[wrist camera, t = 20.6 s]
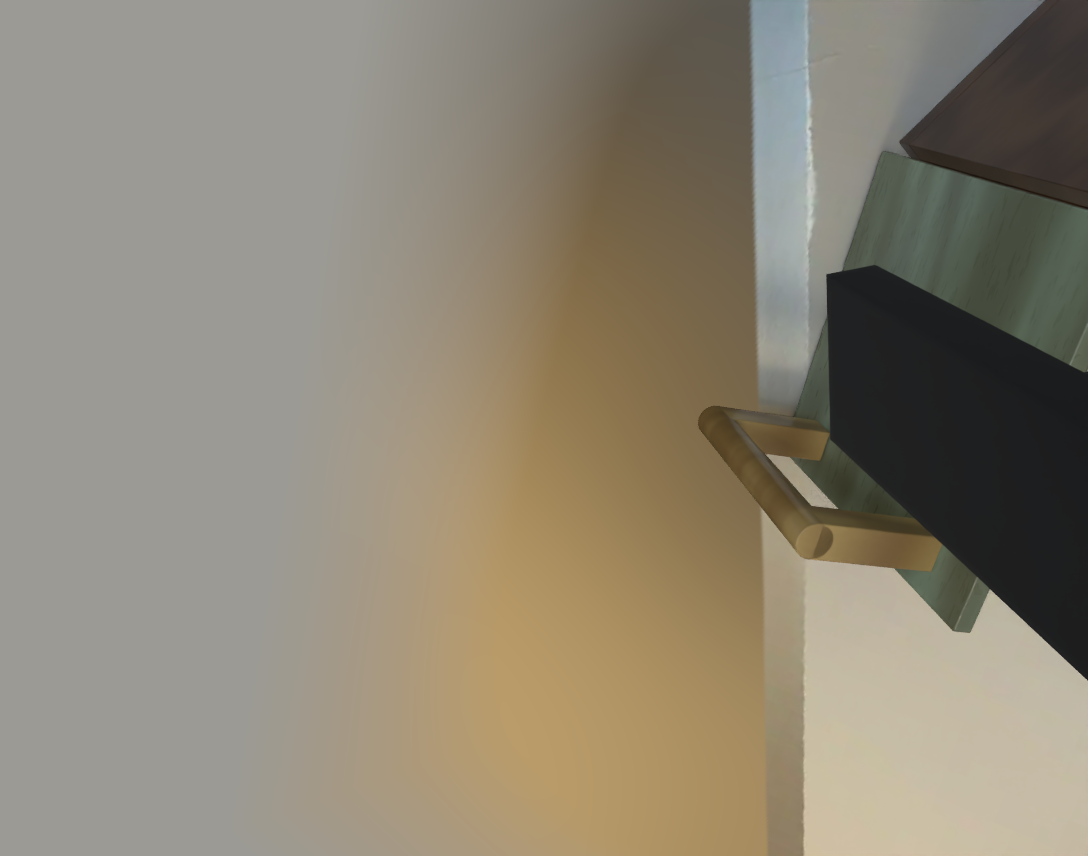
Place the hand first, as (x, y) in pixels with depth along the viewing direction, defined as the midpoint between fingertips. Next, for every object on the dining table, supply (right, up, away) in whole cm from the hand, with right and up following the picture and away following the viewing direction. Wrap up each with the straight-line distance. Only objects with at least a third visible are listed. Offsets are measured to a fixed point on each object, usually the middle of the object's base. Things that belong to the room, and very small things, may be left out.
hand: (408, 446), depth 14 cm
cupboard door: (+14, +7, +35) cm, 38 cm away
